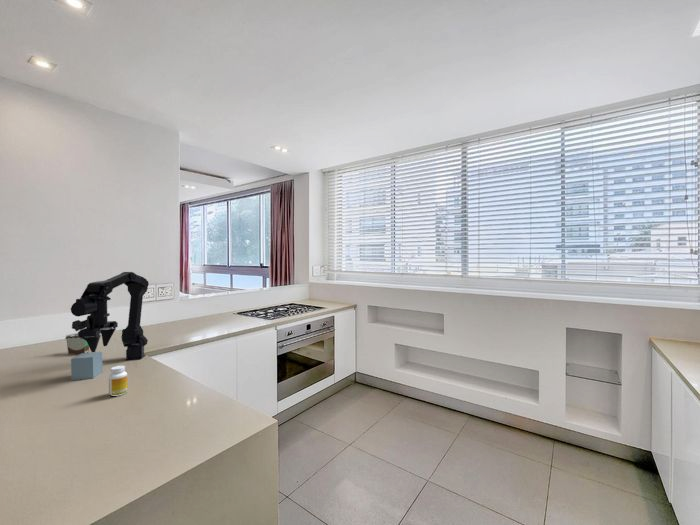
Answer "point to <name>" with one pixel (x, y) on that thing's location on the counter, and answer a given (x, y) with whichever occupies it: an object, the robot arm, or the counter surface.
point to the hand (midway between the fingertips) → (99, 349)
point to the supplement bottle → (118, 381)
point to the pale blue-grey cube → (86, 365)
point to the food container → (76, 344)
